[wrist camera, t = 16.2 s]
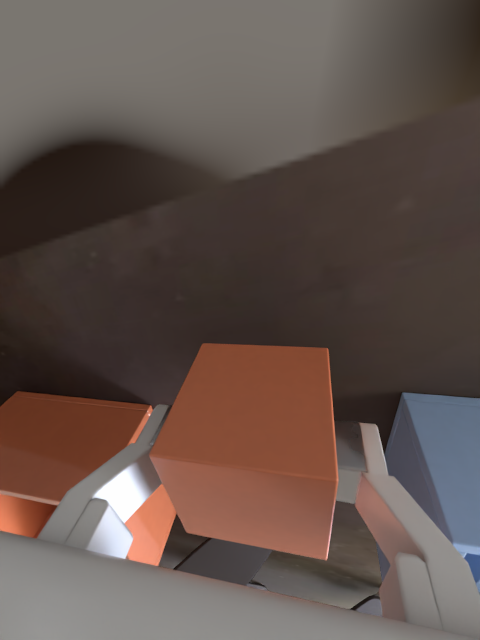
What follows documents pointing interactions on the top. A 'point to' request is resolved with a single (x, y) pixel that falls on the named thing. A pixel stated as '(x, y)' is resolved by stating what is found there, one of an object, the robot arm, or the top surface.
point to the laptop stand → (244, 567)
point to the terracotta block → (253, 448)
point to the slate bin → (439, 464)
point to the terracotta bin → (71, 463)
